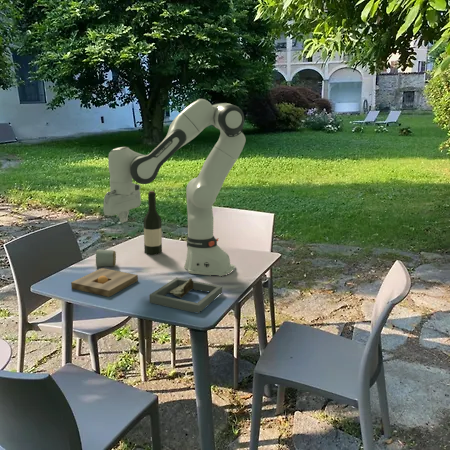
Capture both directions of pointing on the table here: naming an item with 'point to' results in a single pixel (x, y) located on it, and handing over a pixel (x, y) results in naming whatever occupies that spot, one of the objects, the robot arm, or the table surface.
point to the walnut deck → (114, 284)
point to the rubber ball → (102, 279)
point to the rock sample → (182, 289)
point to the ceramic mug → (105, 258)
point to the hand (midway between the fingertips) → (123, 221)
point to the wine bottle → (152, 228)
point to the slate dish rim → (161, 299)
